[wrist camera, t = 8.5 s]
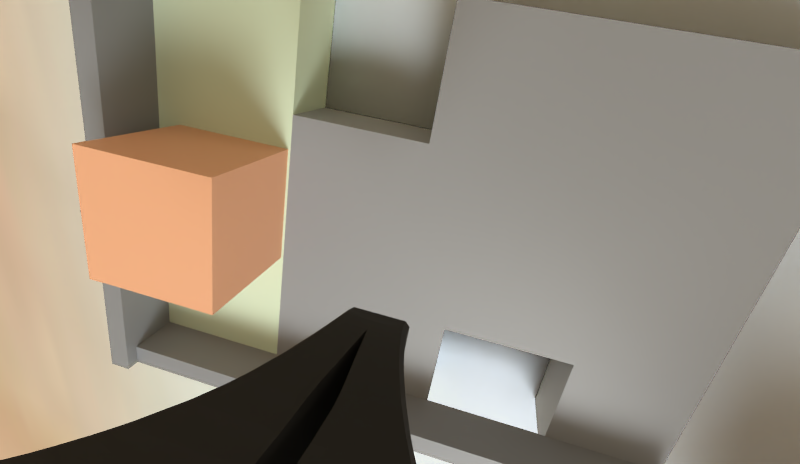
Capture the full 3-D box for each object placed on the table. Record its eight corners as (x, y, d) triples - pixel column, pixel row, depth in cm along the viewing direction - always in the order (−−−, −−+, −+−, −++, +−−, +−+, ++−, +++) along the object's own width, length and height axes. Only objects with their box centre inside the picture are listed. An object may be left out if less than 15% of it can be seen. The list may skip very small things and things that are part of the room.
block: (288, 148, 16) (212, 178, 12) (281, 257, 18) (212, 315, 14) (179, 124, 17) (71, 143, 12) (183, 231, 18) (89, 278, 14)
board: (818, 65, 14) (993, 63, 9) (632, 427, 20) (673, 548, 15) (189, -38, 17) (59, -81, 12) (196, 300, 23) (112, 363, 18)
